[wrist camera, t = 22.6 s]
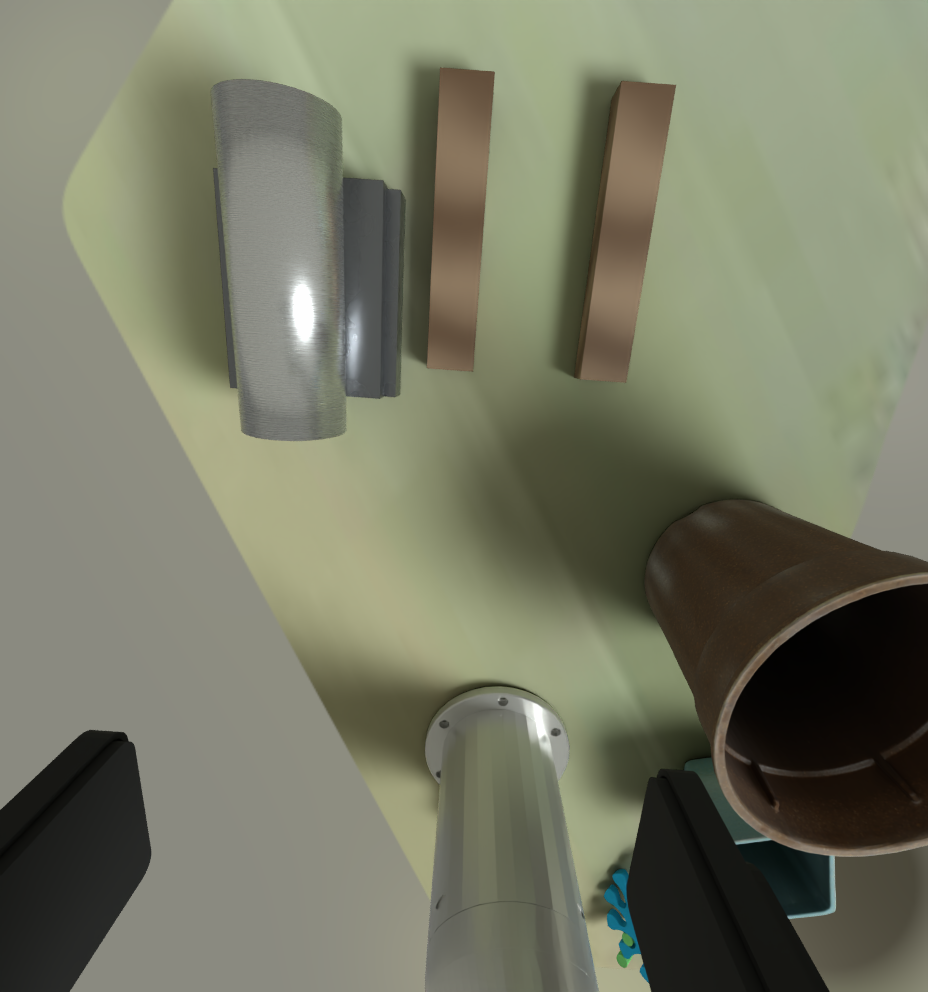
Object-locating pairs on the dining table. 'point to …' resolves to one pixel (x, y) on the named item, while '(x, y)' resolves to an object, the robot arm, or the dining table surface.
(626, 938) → the blue spiky ball
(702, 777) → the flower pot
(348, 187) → the v block
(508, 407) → the dining table surface
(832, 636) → the plant pot
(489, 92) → the wooden blocks
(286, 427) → the axle
